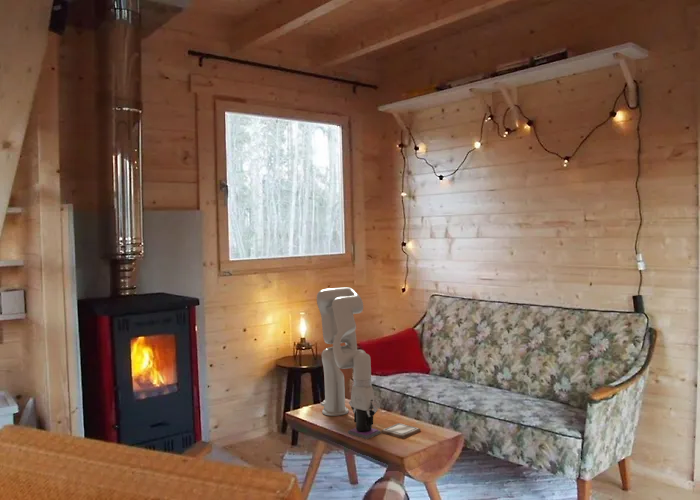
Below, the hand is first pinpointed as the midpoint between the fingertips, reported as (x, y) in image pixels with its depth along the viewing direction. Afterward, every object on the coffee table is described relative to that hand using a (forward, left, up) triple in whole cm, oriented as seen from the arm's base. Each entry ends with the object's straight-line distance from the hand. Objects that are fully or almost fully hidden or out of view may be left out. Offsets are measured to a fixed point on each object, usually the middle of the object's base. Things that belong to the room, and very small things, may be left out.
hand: (363, 423), depth 269 cm
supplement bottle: (0, 0, -3) cm, 3 cm away
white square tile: (+11, +11, -5) cm, 17 cm away
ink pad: (0, 0, -5) cm, 5 cm away
